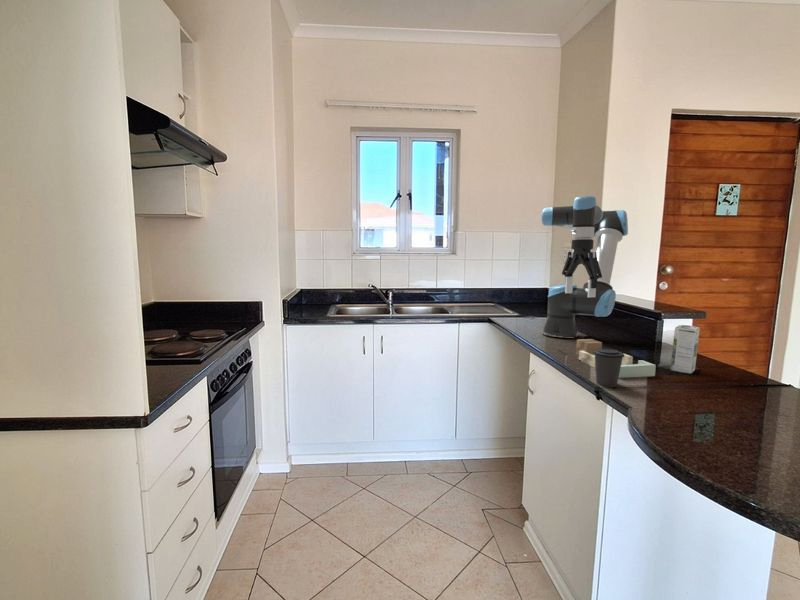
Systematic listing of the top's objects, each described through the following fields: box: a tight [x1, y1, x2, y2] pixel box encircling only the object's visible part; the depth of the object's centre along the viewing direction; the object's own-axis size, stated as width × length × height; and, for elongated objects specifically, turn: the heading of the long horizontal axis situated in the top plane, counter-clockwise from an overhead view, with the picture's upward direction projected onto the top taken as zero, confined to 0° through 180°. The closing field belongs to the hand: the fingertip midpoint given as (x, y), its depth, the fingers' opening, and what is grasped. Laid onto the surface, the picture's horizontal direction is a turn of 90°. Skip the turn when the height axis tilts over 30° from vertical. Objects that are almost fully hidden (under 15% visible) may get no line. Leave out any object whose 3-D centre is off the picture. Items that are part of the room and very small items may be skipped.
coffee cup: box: [593, 348, 625, 388], centre depth 115 cm, size 8×8×10 cm
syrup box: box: [670, 324, 701, 375], centre depth 127 cm, size 6×6×14 cm
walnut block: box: [575, 338, 603, 355], centre depth 145 cm, size 6×6×6 cm
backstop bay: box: [618, 359, 657, 379], centre depth 124 cm, size 6×13×4 cm, turn 99°
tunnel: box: [578, 349, 634, 369], centre depth 136 cm, size 10×13×4 cm
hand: (579, 295), depth 151 cm, fingers open, 13 cm apart
